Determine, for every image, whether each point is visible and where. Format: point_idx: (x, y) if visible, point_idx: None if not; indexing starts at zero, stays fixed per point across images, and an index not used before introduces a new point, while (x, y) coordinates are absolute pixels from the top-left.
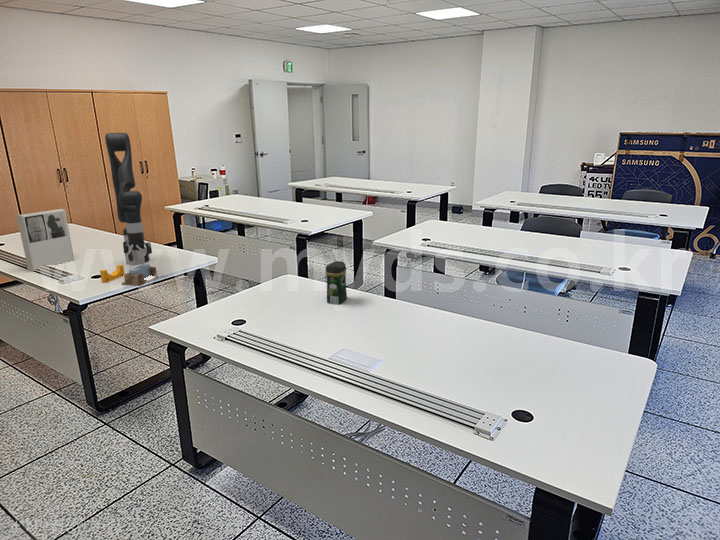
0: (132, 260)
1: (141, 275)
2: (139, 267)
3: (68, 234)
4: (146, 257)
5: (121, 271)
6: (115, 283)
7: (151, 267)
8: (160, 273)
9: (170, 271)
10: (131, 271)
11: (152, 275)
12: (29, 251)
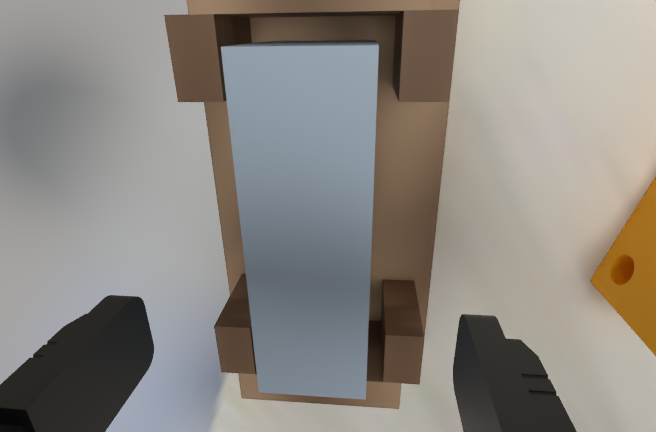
0: (456, 359)
1: (179, 60)
2: (298, 243)
3: None
4: (29, 376)
5: (650, 292)
6: (588, 8)
7: None
8: None
9: (234, 429)
10: (326, 46)
11: None
12: None
